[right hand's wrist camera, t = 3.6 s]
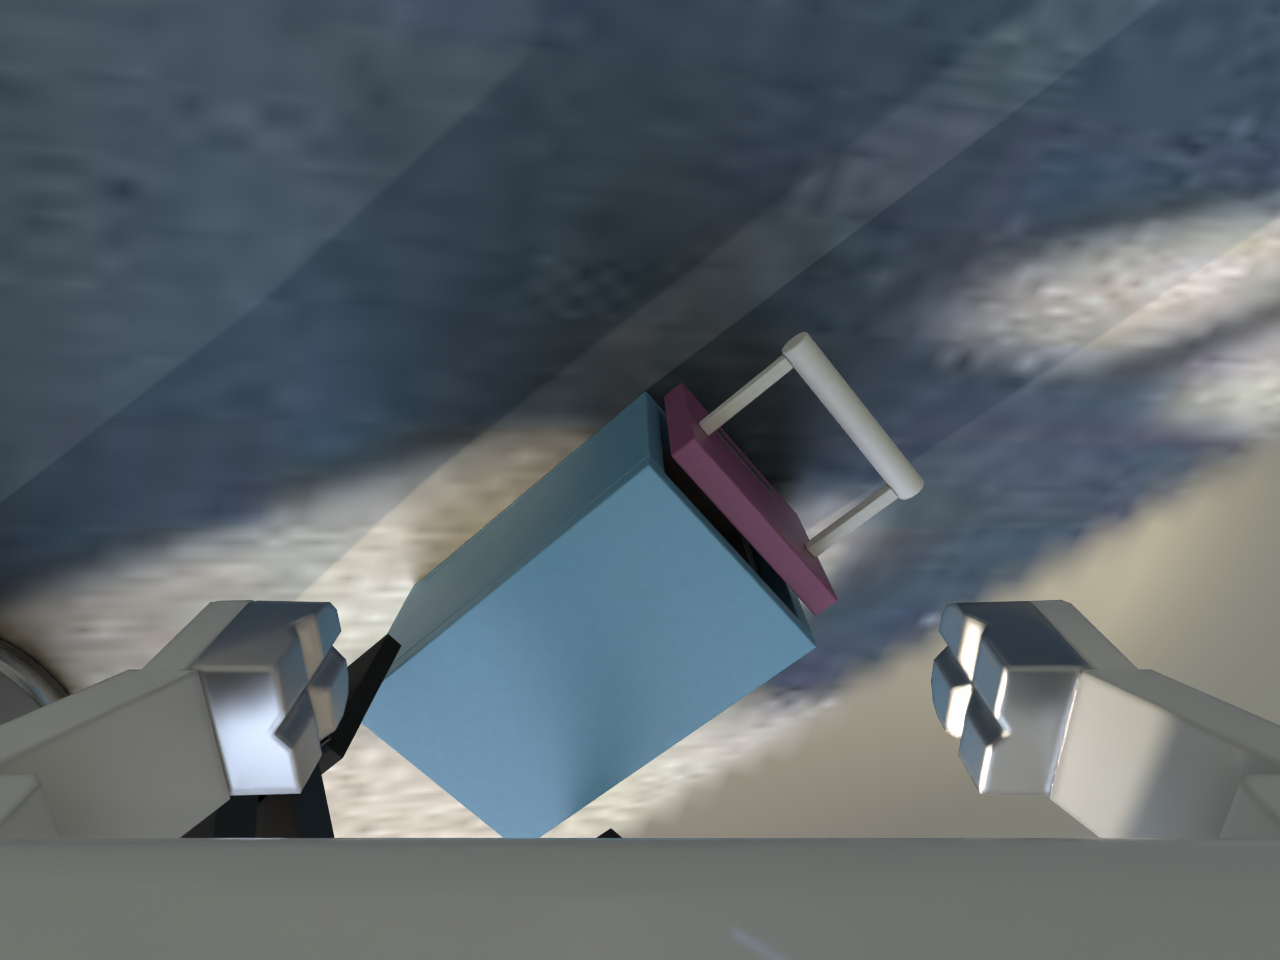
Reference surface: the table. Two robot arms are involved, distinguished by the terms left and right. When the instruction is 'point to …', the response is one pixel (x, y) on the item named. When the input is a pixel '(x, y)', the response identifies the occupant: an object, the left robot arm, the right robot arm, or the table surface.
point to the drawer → (744, 495)
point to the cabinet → (580, 636)
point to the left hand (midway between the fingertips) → (490, 757)
